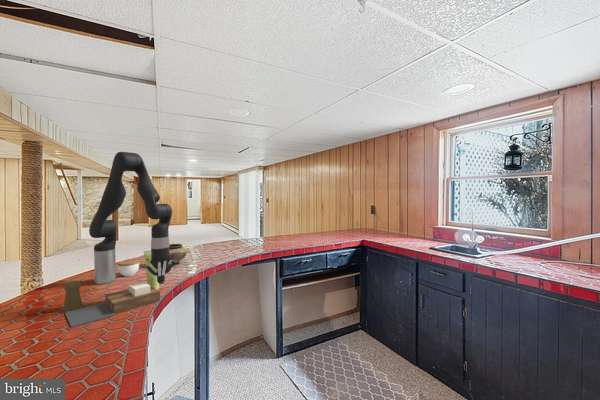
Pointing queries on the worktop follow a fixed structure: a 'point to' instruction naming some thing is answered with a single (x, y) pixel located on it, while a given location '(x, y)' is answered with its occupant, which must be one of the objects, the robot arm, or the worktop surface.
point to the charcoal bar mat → (88, 314)
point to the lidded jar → (128, 267)
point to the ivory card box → (139, 288)
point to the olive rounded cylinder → (72, 296)
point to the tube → (150, 277)
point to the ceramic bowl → (177, 253)
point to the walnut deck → (130, 300)
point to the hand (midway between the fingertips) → (160, 283)
